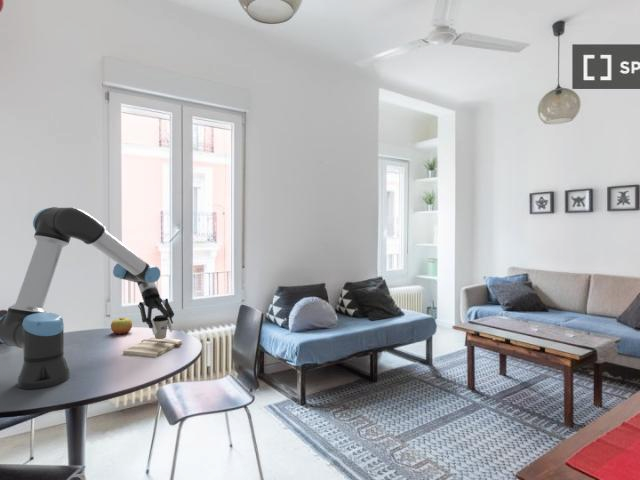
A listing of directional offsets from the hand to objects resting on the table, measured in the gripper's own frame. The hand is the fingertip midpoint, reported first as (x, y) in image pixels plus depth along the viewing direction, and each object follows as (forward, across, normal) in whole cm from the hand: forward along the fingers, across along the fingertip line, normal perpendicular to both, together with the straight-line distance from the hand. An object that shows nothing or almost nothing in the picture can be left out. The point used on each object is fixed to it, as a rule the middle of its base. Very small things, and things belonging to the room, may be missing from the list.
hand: (163, 331), depth 176 cm
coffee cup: (0, 0, -5) cm, 5 cm away
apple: (-20, +6, -31) cm, 37 cm away
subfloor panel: (+4, +4, -6) cm, 8 cm away
